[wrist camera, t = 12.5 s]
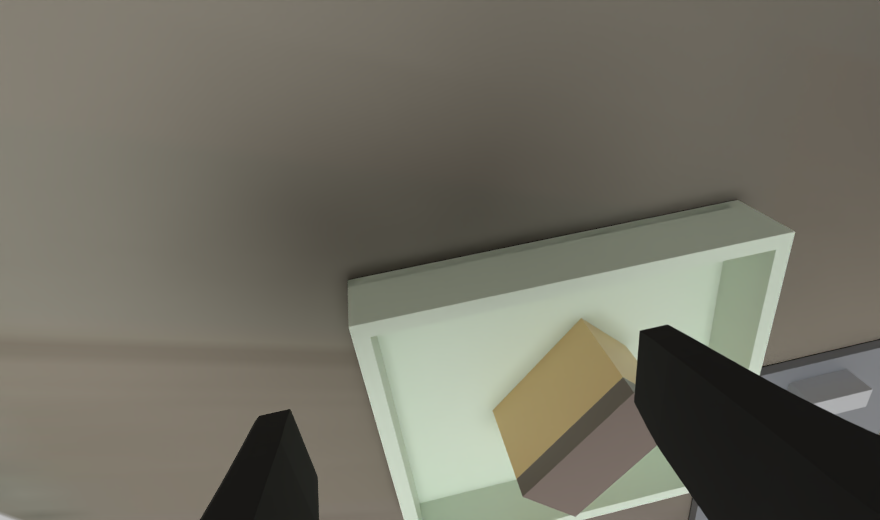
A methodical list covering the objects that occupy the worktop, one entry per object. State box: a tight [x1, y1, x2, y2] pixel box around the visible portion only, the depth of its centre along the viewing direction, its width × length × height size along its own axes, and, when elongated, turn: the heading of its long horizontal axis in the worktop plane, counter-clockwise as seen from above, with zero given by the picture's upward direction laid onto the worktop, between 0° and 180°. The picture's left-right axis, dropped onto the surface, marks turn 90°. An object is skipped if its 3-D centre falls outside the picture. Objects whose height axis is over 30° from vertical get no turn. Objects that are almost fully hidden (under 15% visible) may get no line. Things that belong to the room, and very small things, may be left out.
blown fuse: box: [493, 318, 657, 517], centre depth 21 cm, size 3×6×4 cm, turn 143°
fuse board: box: [689, 340, 880, 520], centre depth 31 cm, size 11×22×2 cm, turn 8°
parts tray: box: [348, 200, 795, 520], centre depth 22 cm, size 16×14×3 cm
